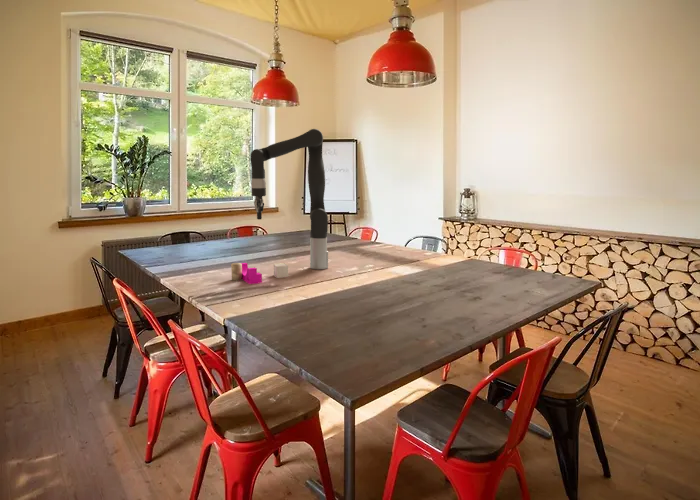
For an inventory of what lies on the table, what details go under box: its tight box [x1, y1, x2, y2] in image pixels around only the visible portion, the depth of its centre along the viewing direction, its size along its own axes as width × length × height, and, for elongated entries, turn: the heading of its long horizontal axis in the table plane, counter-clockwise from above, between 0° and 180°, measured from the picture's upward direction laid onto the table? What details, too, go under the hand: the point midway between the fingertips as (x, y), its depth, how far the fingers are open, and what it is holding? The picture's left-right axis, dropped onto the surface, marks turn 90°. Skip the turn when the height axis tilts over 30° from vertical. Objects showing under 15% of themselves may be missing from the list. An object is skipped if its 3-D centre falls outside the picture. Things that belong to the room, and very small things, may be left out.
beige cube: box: [272, 262, 289, 279], centre depth 235 cm, size 6×6×6 cm
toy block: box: [241, 262, 263, 285], centre depth 226 cm, size 15×6×8 cm, turn 32°
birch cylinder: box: [230, 262, 243, 282], centre depth 226 cm, size 5×5×8 cm
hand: (259, 219), depth 249 cm, fingers closed
